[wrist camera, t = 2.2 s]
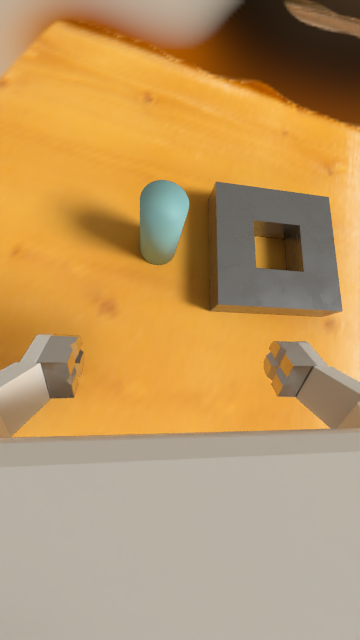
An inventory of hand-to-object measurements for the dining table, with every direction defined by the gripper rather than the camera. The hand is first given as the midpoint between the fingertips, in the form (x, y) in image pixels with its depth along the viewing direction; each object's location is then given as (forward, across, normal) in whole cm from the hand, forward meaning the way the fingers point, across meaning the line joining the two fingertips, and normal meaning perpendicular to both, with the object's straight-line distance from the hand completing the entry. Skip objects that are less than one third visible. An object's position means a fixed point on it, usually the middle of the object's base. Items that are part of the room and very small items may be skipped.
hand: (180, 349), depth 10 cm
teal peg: (+20, 0, +2) cm, 20 cm away
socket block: (+20, -13, +2) cm, 23 cm away
